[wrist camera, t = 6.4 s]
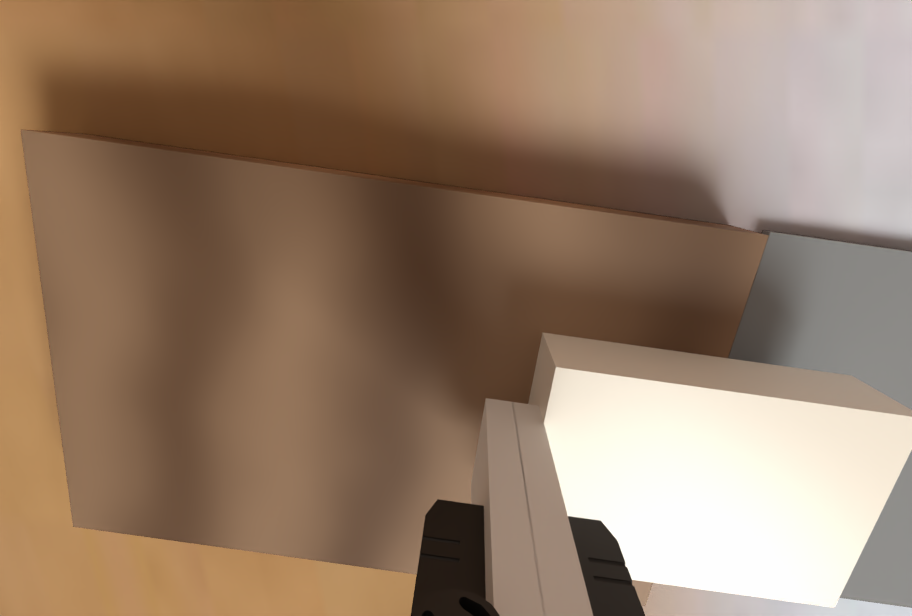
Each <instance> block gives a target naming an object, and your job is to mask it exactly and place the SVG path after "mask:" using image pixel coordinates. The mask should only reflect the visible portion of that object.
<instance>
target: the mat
mask: <svg viewBox="0 0 912 616" xmlns="http://www.w3.org/2000/svg"><path fill="white" fill-rule="evenodd" d="M762 234H765V235H769V237H768V240H767V243H766V246H765V249H764V252H763V255H762V258H761V261H760V264H759V267H758V270H757V272H756V275H755V278H754V281H753V284H752V287H751V290H750V293H749V296H748V299H747V302H746V305H745V308H744V311H743V314H742V317H741V320H740V323H739V326H738V329H737V332H736V335H735V338H734V341H733V344H732V347H731V350H730V353H729V356H728V358H729V359H736V360H743V361H751V362H758V363H765V364H772V365H779V366H786V367H794V368H801V369H808V370H815V371H822V372H829V373H837V374H844V375H851V376H853V377H855V378H857V379H858V380H860V381H862V382H864V383H865V384H867V385H869V386H871V387H872V388H874V389H876V390H878V391H879V392H881V393H883V394H885V395H886V396H888V397H890V398H892V399H893V400H895V401H897V402H899V403H900V404H902V405H904V406H905V407H907V408H909V409H911V410H912V251H907V250H900V249H893V248H886V247H879V246H872V245H864V244H857V243H850V242H843V241H836V240H829V239H822V238H815V237H808V236H801V235H794V234H787V233H780V232H773V231H766V230H763V231H762ZM839 598H846V599H853V600H860V601H867V602H874V603H882V604H889V605H896V606H903V607H910V608H912V450H911V452H910V454H909V456H908V458H907V461H906V463H905V465H904V467H903V469H902V471H901V473H900V475H899V477H898V479H897V481H896V483H895V485H894V487H893V489H892V491H891V493H890V495H889V497H888V499H887V501H886V503H885V505H884V507H883V510H882V512H881V514H880V516H879V518H878V520H877V522H876V524H875V526H874V528H873V530H872V532H871V534H870V536H869V538H868V540H867V542H866V544H865V546H864V548H863V550H862V552H861V554H860V556H859V559H858V561H857V563H856V565H855V567H854V569H853V571H852V573H851V575H850V577H849V579H848V581H847V583H846V585H845V587H844V589H843V591H842V593H841V595H840V597H839Z"/></svg>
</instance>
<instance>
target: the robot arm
mask: <svg viewBox="0 0 912 616" xmlns="http://www.w3.org/2000/svg"><path fill="white" fill-rule="evenodd" d="M411 616H645V614H644V611H643V608H642V606H641V603H640V600H639V598H638V595H637V592H636V590H635V587H634V586H633V585H632V579H631V576H630V573H629V571H628V568H627V567H626V566H625V560H624V557H623V554H622V552H621V549H620V546H619V544H618V541H617V540H616V538H615V537H614V536H613V535H612V533H611V532H610V531H609V530H608V529H607V527H606V526H605V525H604V524H603V523H602V521H600V520H593V519H586V518H579V517H572V516H568V515H567V511H566V507H565V503H564V500H563V496H562V492H561V488H560V484H559V480H558V476H557V472H556V468H555V464H554V461H553V457H552V453H551V449H550V445H549V441H548V437H547V433H546V429H545V425H544V423H543V419H542V416H541V412H540V408H539V406H538V405H531V404H524V403H517V402H510V401H503V400H496V399H489V398H486V400H485V405H484V411H483V417H482V423H481V429H480V435H479V440H478V446H477V452H476V458H475V464H474V469H473V475H472V481H471V504H468V503H461V502H454V501H447V500H440V499H437V501H436V502H435V503H434V505H433V506H432V507H431V508H430V510H429V511H428V512H427V514H426V515H425V521H424V528H423V535H422V542H421V549H420V556H419V563H418V570H417V577H416V584H415V591H414V598H413V605H412V612H411Z"/></svg>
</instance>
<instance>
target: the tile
mask: <svg viewBox="0 0 912 616" xmlns="http://www.w3.org/2000/svg"><path fill="white" fill-rule="evenodd" d="M528 404H531V405H538V406H539V408H540V412H541V416H542V419H543V423H544V425H545V429H546V433H547V437H548V441H549V445H550V449H551V453H552V457H553V461H554V464H555V468H556V472H557V476H558V480H559V484H560V488H561V492H562V496H563V500H564V503H565V507H566V511H567V515H568V516H572V517H579V518H586V519H593V520H600V521H602V523H603V524H604V525H605V526H606V527H607V529H608V530H609V531H610V532H611V533H612V535H613V536H614V537H615V538H616V540H617V541H618V544H619V546H620V549H621V552H622V554H623V557H624V560H625V566H626V567H627V568H628V571H629V573H630V576H631V579H632V580H637V581H644V582H651V583H659V584H666V585H673V586H680V587H688V588H695V589H702V590H709V591H716V592H724V593H731V594H738V595H745V596H753V597H760V598H767V599H774V600H782V601H789V602H796V603H803V604H810V605H818V606H825V607H832V608H835V605H836V603H837V601H838V599H839V597H840V595H841V593H842V591H843V589H844V587H845V585H846V583H847V581H848V579H849V577H850V575H851V573H852V571H853V569H854V567H855V565H856V563H857V561H858V559H859V556H860V554H861V552H862V550H863V548H864V546H865V544H866V542H867V540H868V538H869V536H870V534H871V532H872V530H873V528H874V526H875V524H876V522H877V520H878V518H879V516H880V514H881V512H882V510H883V507H884V505H885V503H886V501H887V499H888V497H889V495H890V493H891V491H892V489H893V487H894V485H895V483H896V481H897V479H898V477H899V475H900V473H901V471H902V469H903V467H904V465H905V463H906V461H907V458H908V456H909V454H910V452H911V450H912V410H911V409H909V408H907V407H905V406H904V405H902V404H900V403H899V402H897V401H895V400H893V399H892V398H890V397H888V396H886V395H885V394H883V393H881V392H879V391H878V390H876V389H874V388H872V387H871V386H869V385H867V384H865V383H864V382H862V381H860V380H858V379H857V378H855V377H853V376H851V375H844V374H837V373H829V372H822V371H815V370H808V369H801V368H794V367H786V366H779V365H772V364H765V363H758V362H751V361H743V360H736V359H729V358H722V357H715V356H708V355H700V354H693V353H686V352H679V351H672V350H665V349H657V348H650V347H643V346H636V345H629V344H622V343H614V342H607V341H600V340H593V339H586V338H579V337H571V336H564V335H557V334H550V333H542V338H541V343H540V348H539V352H538V357H537V362H536V367H535V372H534V377H533V382H532V387H531V392H530V397H529V402H528Z"/></svg>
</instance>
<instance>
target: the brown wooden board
mask: <svg viewBox="0 0 912 616" xmlns="http://www.w3.org/2000/svg"><path fill="white" fill-rule="evenodd" d="M21 135H22V143H23V150H24V158H25V165H26V173H27V180H28V188H29V196H30V203H31V211H32V218H33V226H34V234H35V241H36V249H37V256H38V264H39V271H40V279H41V287H42V294H43V302H44V309H45V317H46V324H47V332H48V340H49V347H50V355H51V362H52V370H53V377H54V385H55V393H56V400H57V408H58V415H59V423H60V430H61V438H62V446H63V453H64V461H65V468H66V476H67V483H68V491H69V499H70V506H71V514H72V521H73V527H79V528H86V529H94V530H101V531H108V532H115V533H122V534H130V535H137V536H144V537H151V538H158V539H165V540H173V541H180V542H187V543H194V544H201V545H209V546H216V547H223V548H230V549H237V550H244V551H252V552H259V553H266V554H273V555H280V556H288V557H295V558H302V559H309V560H316V561H324V562H331V563H338V564H345V565H352V566H359V567H367V568H374V569H381V570H388V571H395V572H403V573H410V574H417V570H418V563H419V556H420V549H421V542H422V535H423V528H424V521H425V515H426V514H427V512H428V511H429V510H430V508H431V507H432V506H433V505H434V503H435V502H436V501H437V499H440V500H447V501H454V502H461V503H468V504H471V481H472V475H473V469H474V464H475V458H476V452H477V446H478V440H479V435H480V429H481V423H482V417H483V411H484V405H485V400H486V398H489V399H496V400H503V401H510V402H517V403H524V404H528V402H529V397H530V392H531V387H532V382H533V377H534V372H535V367H536V362H537V357H538V352H539V348H540V343H541V338H542V333H550V334H557V335H564V336H571V337H579V338H586V339H593V340H600V341H607V342H614V343H622V344H629V345H636V346H643V347H650V348H657V349H665V350H672V351H679V352H686V353H693V354H700V355H708V356H715V357H722V358H728V356H729V353H730V350H731V347H732V344H733V341H734V338H735V335H736V332H737V329H738V326H739V323H740V320H741V317H742V314H743V311H744V308H745V305H746V302H747V299H748V296H749V293H750V290H751V287H752V284H753V281H754V278H755V275H756V272H757V270H758V267H759V264H760V261H761V258H762V255H763V252H764V249H765V246H766V243H767V240H768V237H769V235H765V234H761V233H757V232H754V231H750V230H746V229H742V228H738V227H734V226H730V225H723V224H716V223H709V222H702V221H695V220H688V219H681V218H674V217H667V216H660V215H653V214H646V213H639V212H632V211H624V210H617V209H610V208H603V207H596V206H589V205H582V204H575V203H568V202H561V201H554V200H547V199H540V198H533V197H526V196H519V195H512V194H504V193H497V192H490V191H483V190H476V189H469V188H462V187H455V186H448V185H441V184H434V183H427V182H420V181H413V180H406V179H399V178H392V177H384V176H377V175H370V174H363V173H356V172H349V171H342V170H335V169H328V168H321V167H314V166H307V165H300V164H293V163H286V162H279V161H272V160H264V159H257V158H250V157H243V156H236V155H229V154H222V153H215V152H208V151H201V150H194V149H187V148H180V147H173V146H166V145H159V144H152V143H144V142H137V141H130V140H123V139H116V138H109V137H102V136H95V135H88V134H81V133H66V132H51V131H36V130H21ZM652 584H653V583H651V582H644V581H637V580H632V585H633V586H634V587H635V590H636V592H637V595H638V598H639V600H640V603H641V606H645V605H646V602H647V599H648V596H649V593H650V590H651V587H652Z"/></svg>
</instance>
